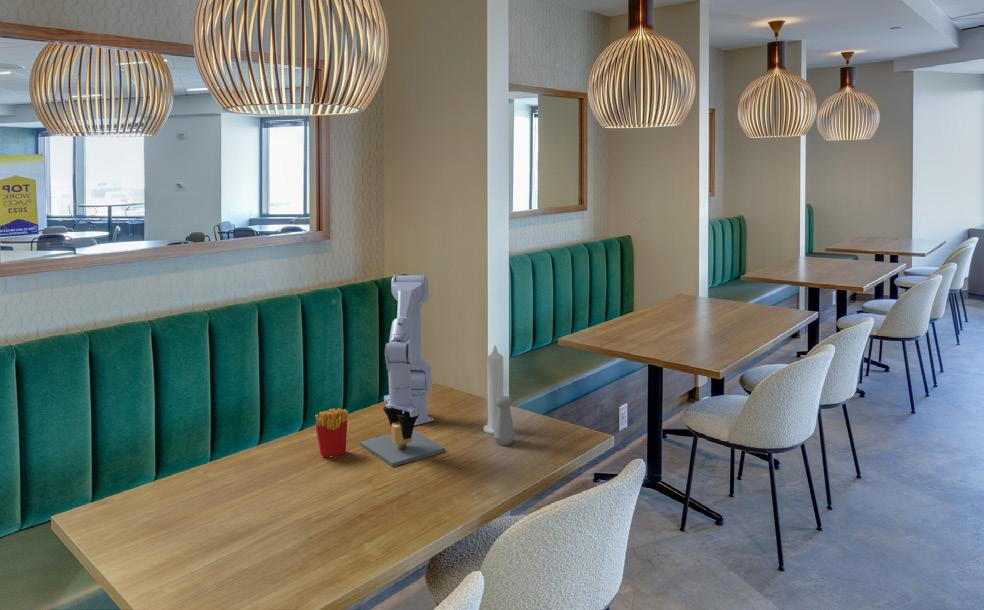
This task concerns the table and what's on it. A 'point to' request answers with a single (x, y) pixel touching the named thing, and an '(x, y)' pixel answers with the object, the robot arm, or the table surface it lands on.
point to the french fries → (332, 432)
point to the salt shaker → (504, 422)
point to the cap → (398, 434)
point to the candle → (494, 387)
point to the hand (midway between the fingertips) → (401, 435)
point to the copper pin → (402, 446)
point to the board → (394, 456)
